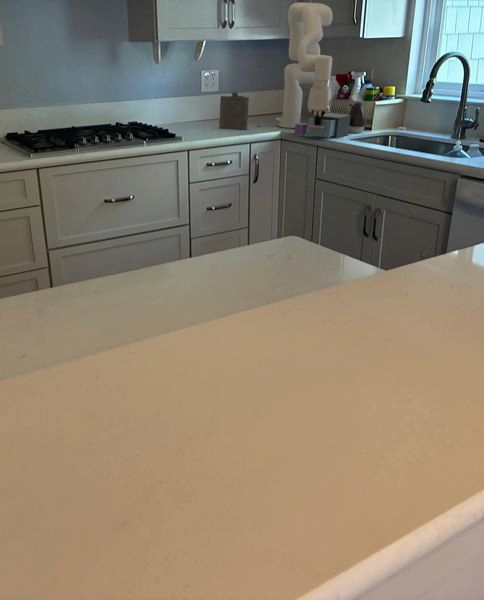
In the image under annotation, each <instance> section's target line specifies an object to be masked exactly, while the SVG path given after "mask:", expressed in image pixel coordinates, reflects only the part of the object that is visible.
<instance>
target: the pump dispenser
mask: <svg viewBox="0 0 484 600" xmlns="http://www.w3.org/2000/svg"><path fill="white" fill-rule="evenodd" d="M348 106H349V107H350V108H349V110H348V112H347V115H351V117H350V124H349V132H348V133H351V134H360V133H362V132H363V131H364V129H365V127H366V124H367V118H366V109H365V107H364V104H363V103H362V102H360V101H354V102H353V104H352V103H349V104H348Z"/></svg>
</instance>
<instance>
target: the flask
mask: <svg viewBox="0 0 484 600" xmlns="http://www.w3.org/2000/svg"><path fill="white" fill-rule="evenodd" d="M238 94H239V91H231V95H220V100H219V101H220V102H219V121H218V122H219V123H218V128H219V129H221V130H222V129H224V130H225V129H226V130H239V131H241V130H242V131H247V130H248V119H249V104H250V97H249V96H243V95H238Z"/></svg>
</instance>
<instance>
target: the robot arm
mask: <svg viewBox="0 0 484 600" xmlns="http://www.w3.org/2000/svg"><path fill="white" fill-rule="evenodd" d="M333 16H334V15H333V11H332V9H331V7H330V6H328V5H326V4H324V3H320V2H294V3H292V4H290V6H289V7H288V12H287V21H288V26H289V42H288V44H289V45H288V58H289V59H290V60H291V61H294V62H295V61H296V62H297V61H298V63H290V64H287V65H286V66H285V67H284V72H283V73H284V74H283V77H284V94H283V103H282V105H283V106H282V116H281V117H276V118H275V122H279V123H278V127H280V128H285V129H295V124H297V123H301V116H302V105H303V96H304V95H303V89H302V88H301V86H300V85H301V84H311V85H312V86H311V88H310V90H309V95H308V100H307V111H308V113H312V115H313V117H314V116H315V120H314V123H315V125H317V126H319V125H321V123H322V117H323V115H324V114H326V113H331V108H332V88H331V78H332V68H333V57H332V56H331V55H324V54H321V46H320V41H321V40H322V39H323V37H324V32H323V27H329V26H330V25H331V24H332V22H333Z"/></svg>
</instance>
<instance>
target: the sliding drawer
mask: <svg viewBox="0 0 484 600" xmlns="http://www.w3.org/2000/svg"><path fill="white" fill-rule="evenodd" d="M314 120H315V118H314V117H313V118H312V117H311V118H308V123H307V133H306V134H307V136H311V137H319V138H326V139H331V138H330V136H334V135H335V132H336V123H337V119H329V118H322V123H321V125H319V126H317V125H315V123H314Z"/></svg>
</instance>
